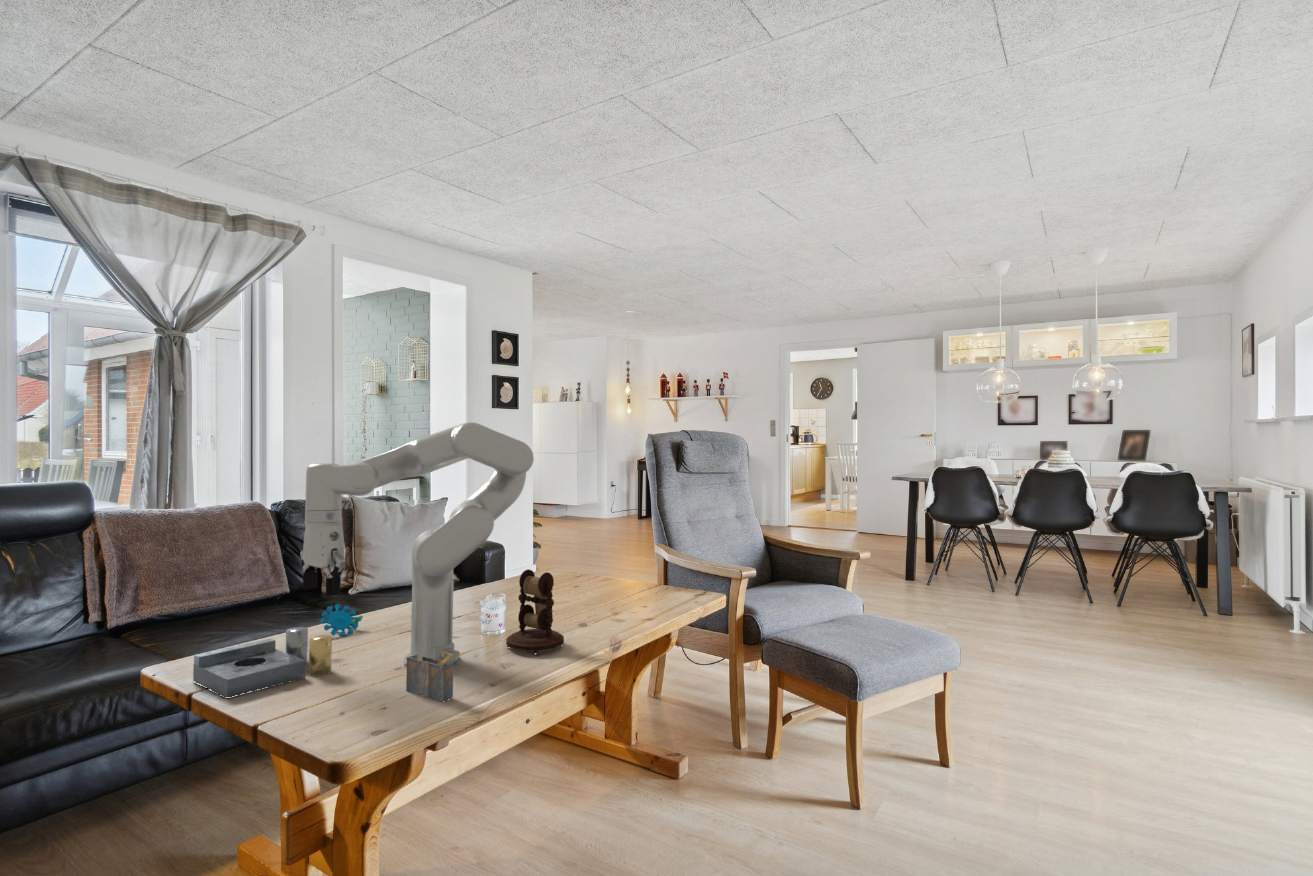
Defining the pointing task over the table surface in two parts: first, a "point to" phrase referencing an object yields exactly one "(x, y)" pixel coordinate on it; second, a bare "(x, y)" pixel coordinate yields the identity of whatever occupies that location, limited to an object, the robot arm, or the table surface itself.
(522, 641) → the brown spool rack
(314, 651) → the brass cylinder plug
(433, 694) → the rusty open-top box
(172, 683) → the table surface
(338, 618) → the blue spiky piece
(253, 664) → the jig
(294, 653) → the metal cylinder plug
